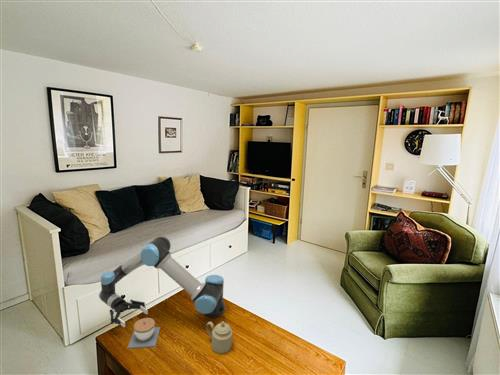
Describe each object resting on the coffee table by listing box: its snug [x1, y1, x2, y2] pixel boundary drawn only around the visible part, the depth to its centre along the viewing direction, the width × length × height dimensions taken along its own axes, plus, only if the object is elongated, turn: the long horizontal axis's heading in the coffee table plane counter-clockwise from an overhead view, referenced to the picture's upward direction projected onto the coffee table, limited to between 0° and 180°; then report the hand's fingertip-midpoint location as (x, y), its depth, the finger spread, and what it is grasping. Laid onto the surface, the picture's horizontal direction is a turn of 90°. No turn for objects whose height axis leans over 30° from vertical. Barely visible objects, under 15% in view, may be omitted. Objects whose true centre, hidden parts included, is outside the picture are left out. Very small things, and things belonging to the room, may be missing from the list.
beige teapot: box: [205, 320, 233, 354], centre depth 141 cm, size 15×11×15 cm
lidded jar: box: [133, 317, 156, 341], centre depth 144 cm, size 11×11×9 cm
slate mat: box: [127, 326, 161, 350], centre depth 144 cm, size 14×14×1 cm
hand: (136, 318), depth 147 cm, fingers open, 13 cm apart
